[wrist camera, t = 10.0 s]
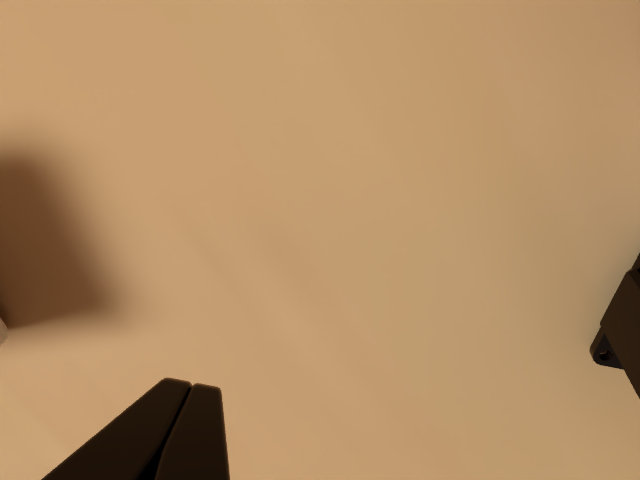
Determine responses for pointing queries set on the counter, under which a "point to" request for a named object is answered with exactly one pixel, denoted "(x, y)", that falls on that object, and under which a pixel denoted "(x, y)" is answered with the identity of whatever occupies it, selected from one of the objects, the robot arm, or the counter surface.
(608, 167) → the counter surface
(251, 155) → the counter surface
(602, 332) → the robot arm
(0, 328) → the skincare box
